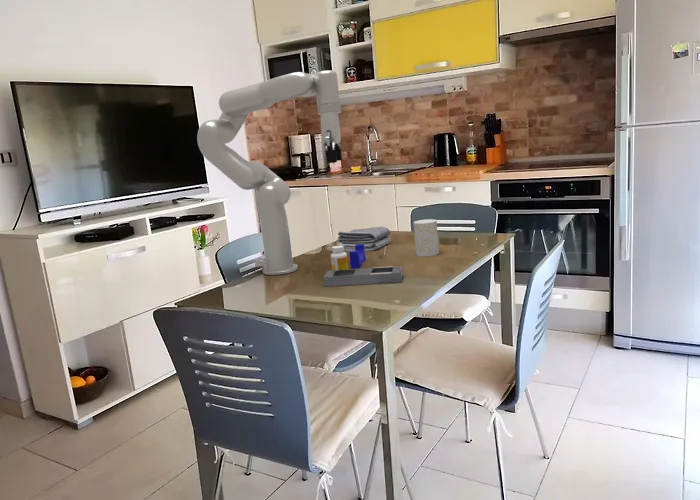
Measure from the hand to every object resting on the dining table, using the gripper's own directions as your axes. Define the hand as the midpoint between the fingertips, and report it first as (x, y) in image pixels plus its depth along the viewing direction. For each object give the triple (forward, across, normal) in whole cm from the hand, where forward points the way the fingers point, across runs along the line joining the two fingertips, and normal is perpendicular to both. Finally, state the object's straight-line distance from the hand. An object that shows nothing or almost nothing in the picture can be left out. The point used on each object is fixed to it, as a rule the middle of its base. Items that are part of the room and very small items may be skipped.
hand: (334, 161), depth 195 cm
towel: (+37, -32, +2) cm, 49 cm away
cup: (+37, -12, +28) cm, 48 cm away
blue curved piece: (+37, -3, +3) cm, 37 cm away
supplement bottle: (+37, +11, 0) cm, 39 cm away
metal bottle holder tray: (+37, +20, +9) cm, 43 cm away
